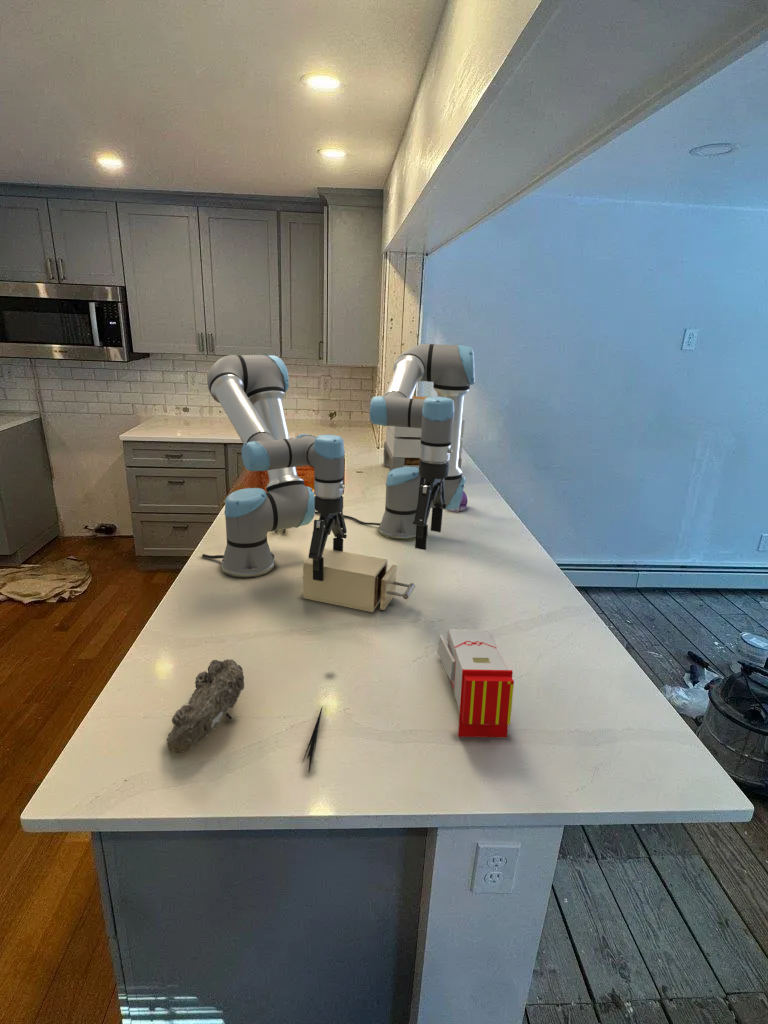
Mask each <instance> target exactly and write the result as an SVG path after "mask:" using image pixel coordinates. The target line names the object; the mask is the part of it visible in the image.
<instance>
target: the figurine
mask: <svg viewBox="0 0 768 1024" xmlns="http://www.w3.org/2000/svg"><path fill="white" fill-rule="evenodd" d="M461 476H463V471H462V475H461ZM467 506H468V496H467V494H466V492H465V491H464V490H463V493H462V498H461V502H460V505H459V507H458V508H457V509H455V510H449V511H450V512H463V511H465V510H466V509H467Z"/></svg>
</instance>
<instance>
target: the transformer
mask: <svg viewBox="0 0 768 1024" xmlns="http://www.w3.org/2000/svg"><path fill="white" fill-rule="evenodd" d="M427 397H428V396H415V395H413V397H412V399H426V398H427ZM385 427H386V428H385V438H384V442H383V466H384V467H388V468H389V472H390V471H391V470H393V469H396V468H400V467H405V466H406V467H417V466H418V467H419V461H420V460H421V459H420V458H419V455H420V443H421V431H422V428H411V427H396V426H385ZM464 429H465V419H464V418H462V425H461V436H460V447H459V459H458V467H459V469H460V470H461V471H462V461H463V460H462V453H463V442H464V441H463V440H462V439H463V438H464V431H465V430H464Z"/></svg>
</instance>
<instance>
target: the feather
mask: <svg viewBox="0 0 768 1024" xmlns="http://www.w3.org/2000/svg"><path fill="white" fill-rule="evenodd" d="M329 675H330V676H331V675H332V674H331V673H330V674H329ZM322 710H323V707H321V708H320V710H319V713H318V716H317V719H316V723H315V725H314V728H313V731H312V733H311V737H310V739H309V742H308V745H307V748H306V751H305V754H304V757H303V760H302V763H301V767H302V765H303V763H304V761H305V758H308V759H309V760H308V762H307V763H308V764H307V766H308V771H310V770H311V766H312V765H311V764H312V760H313V757H315V756H314V755H315V751H316V749H315V746H317V739H318V733H319V729H320V722H321V717H322V712H323V711H322ZM313 754H314V755H313ZM306 755H307V757H306Z"/></svg>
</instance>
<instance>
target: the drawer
mask: <svg viewBox="0 0 768 1024" xmlns="http://www.w3.org/2000/svg"><path fill="white" fill-rule="evenodd" d="M397 568H398V565H397V564H392V565H391V566H390V568H388V565H387V566H386V565H385V566H384V567H383V568H382V570H381V571H380V572H379V574H378V575H377V576H376V577H375V599H374V605H375V606H376V605H377V604H378V602H379V601H380V599H381V601H380V603H379V604H380V606H379V610H382V611H385V610H386V609H387V607H388V605H389V604H390V603H391V601H392V599H394V596H397V597H401V598H403V600H408V599H409V598H410V596H411V594H412V593H413V591H414V589H415V588H416V585H415V583H413V582H411V583H409V584H408V583H404V582H399V581H397V571H398V569H397ZM397 586H400V587H405V588H406V589H405V591H404V592H403V593H401V592H397V591H396V587H397ZM379 604H378V605H379Z"/></svg>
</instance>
